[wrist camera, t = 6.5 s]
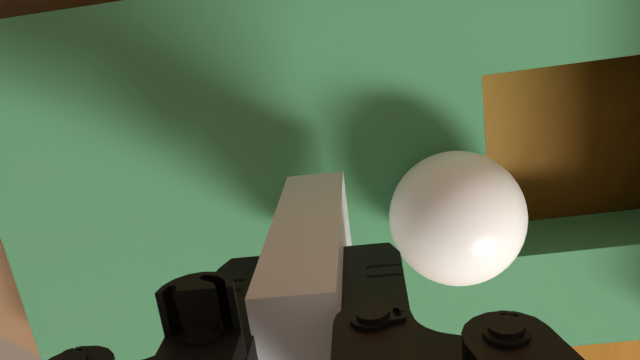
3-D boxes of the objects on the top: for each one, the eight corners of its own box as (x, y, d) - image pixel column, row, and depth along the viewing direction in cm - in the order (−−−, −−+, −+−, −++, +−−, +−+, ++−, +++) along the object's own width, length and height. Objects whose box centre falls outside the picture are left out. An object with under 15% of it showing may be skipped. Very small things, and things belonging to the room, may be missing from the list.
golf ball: (519, 137, 16) (391, 140, 17) (542, 167, 13) (381, 170, 14) (516, 255, 17) (394, 255, 18) (537, 312, 14) (386, 308, 15)
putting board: (-17, 23, 19) (-158, 40, 14) (718, -88, 17) (884, -119, 12) (83, 348, 23) (2, 460, 17) (696, 290, 20) (813, 396, 15)
